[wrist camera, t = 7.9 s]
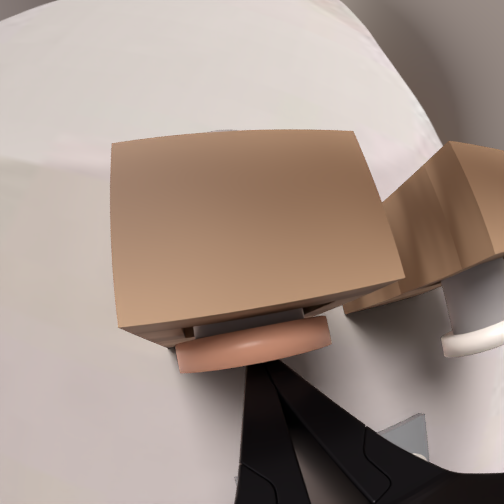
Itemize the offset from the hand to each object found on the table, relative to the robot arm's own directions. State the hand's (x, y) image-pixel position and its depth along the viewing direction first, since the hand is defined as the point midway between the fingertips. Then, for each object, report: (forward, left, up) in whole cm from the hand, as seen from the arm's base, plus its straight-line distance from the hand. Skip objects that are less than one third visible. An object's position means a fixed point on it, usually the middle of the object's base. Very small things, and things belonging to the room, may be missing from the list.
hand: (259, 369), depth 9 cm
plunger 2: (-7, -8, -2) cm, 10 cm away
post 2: (-6, -9, -8) cm, 13 cm away
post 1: (+2, -3, -8) cm, 8 cm away
